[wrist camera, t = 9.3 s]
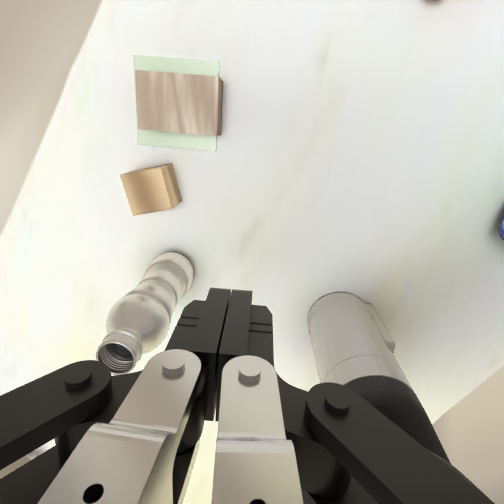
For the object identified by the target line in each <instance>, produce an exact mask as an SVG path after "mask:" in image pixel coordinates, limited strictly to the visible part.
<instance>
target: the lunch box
mask: <svg viewBox="0 0 504 504" xmlns="http://www.w3.org/2000/svg"><path fill="white" fill-rule="evenodd" d="M499 234H500V236H501V238H502V239H503V240H504V214H503V217H502V219H501V222H500V226H499Z"/></svg>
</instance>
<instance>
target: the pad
mask: <svg viewBox="0 0 504 504" xmlns="http://www.w3.org/2000/svg"><path fill="white" fill-rule="evenodd" d="M135 70H144V71H157V72H170V73H182V74H195V75H208V76H218V77H219V62H216V61H203V60H190V59H177V58H165V57H152V56H139V55H134V74H135ZM135 94H136V84H135ZM136 115H137V105H136ZM137 135H138V145H144V146H157V147H169V148H181V149H194V150H206V151H216V138H217V136H213V135H201V134H189V133H176V132H164V131H151V130H139V129H138V125H137Z"/></svg>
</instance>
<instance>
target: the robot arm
mask: <svg viewBox="0 0 504 504" xmlns="http://www.w3.org/2000/svg"><path fill="white" fill-rule="evenodd" d="M251 302H252V291H244V290H232V293H231V289H220V288H210V290H209V293H208V296H207V299H206V301H199V300H194V301H192V302H191V303H190V304H188V305H187V306H186V307H185V308H184V310H183V312H182V314H181V317H180V319H179V321H178V323H177V326H176V327H175V329H174V332H173V334H172V336H171V338H170V340H169V343H168V345H167V347H166V349H165V351H163V352H161V353H159V354H157V355H155V356H154V357H152V358H151V359H150V360H149V362H148V363H147V364H146V366H145V368H144V369H143V370H142V371H139V372H135V373H130V374H123V375H116V376H111V371H110V368H109V367H108V366H107V365H106V364H104V363H102V362H99V361H94V360H86V361H79V362H75V363H72V364H69V365H67V366H65V367H63V368H60V369H58V370H56V371H54V372H52V373H49V374H47V375H45V376H43V377H41V378H38V379H36V380H34V381H32V382H30V383H27V384H25V385H23V386H21V387H19V388H16V389H14V390H12V391H10V392H8V393H5V394H3V395H1V396H0V470H1V469H3V468H5V467H6V466H8V465H10V464H11V463H13V462H15V461H16V460H18V459H20V458H22V457H23V456H25V455H27V454H28V453H30V452H32V451H33V450H35V449H37V448H38V447H40V446H42V445H44V444H45V443H47V442H49V441H50V440H52V439H54V438H55V443H56V446H54V447H52V448H51V449H49V450H47V451H46V452H44V453H42V454H41V455H39V456H38V457H36V458H34V459H33V460H31V461H29V462H28V463H26V464H24V465H23V466H21V467H20V468H18V469H16V470H15V471H13V472H11V473H10V474H8V475H6V476H5V477H3V478H1V479H0V504H182V503H183V500H184V496H185V493H186V490H187V486H188V483H189V479H190V476H191V473H192V469H193V466H194V463H195V459H196V456H197V452H198V449H199V442H200V436H201V433H202V429H203V425H204V420H208V421H213V419H214V414H215V409H216V421H219V422H218V435H217V441H216V453H215V466H214V479H213V492H212V504H495V503H493V502H492V501H491V500H490V499H489V498H488V497H487V496H486V495H485V494H484V493H483V492H481V491H480V490H479V489H478V488H477V487H476V486H475V485H474V484H473V483H472V482H471V481H470V480H469V479H467V478H466V477H465V476H464V475H463V474H462V473H461V472H460V471H458V470H457V469H456V468H455V467H454V466H452V465H451V463H450V461H449V459H448V457H447V455H446V453H445V451H444V449H443V447H442V445H441V443H440V441H439V439H438V437H437V435H436V432H435V430H434V428H433V426H432V424H431V422H430V420H429V418H428V416H427V414H426V412H425V410H424V408H423V406H422V405H421V403H420V401H419V399H418V398H417V396H416V394H415V393H414V391H413V389H412V388H411V386H410V384H409V382H408V380H407V379H406V377H405V375H404V373H403V371H402V370H401V368H400V366H399V364H398V363H397V361H396V359H395V357H394V355H393V352H394V348H395V343H394V341H393V339H392V337H391V336H390V334H389V332H388V331H387V329H386V327H385V326H384V324H383V322H382V321H381V319H380V317H379V316H378V314H377V312H376V311H375V309H374V307H373V306H372V304H367V303H364V302H363V301H362V300H361V299H360V298H358V297H356V296H355V295H352V294H349V293H342V292H338V293H332V294H328V295H326V296H324V297H322V298H320V299H319V300H318V301H316V302H315V304H314V305H313V306H312V308H311V309H310V311H309V315H308V326H309V333H310V336H311V341H312V346H313V351H314V355H315V360H316V365H317V370H318V374H319V379H320V383H319V384H317V385H315V386H313V387H312V388H311V389H310V390H309V392H307V391H304V390H301V389H299V388H296V387H293V386H291V385H289V384H288V383H286V382H285V381H283V380H282V379H281V378H280V377H279V375H278V374H277V373H276V371H275V368H274V357H273V326H272V324H273V323H272V314H271V312H270V311H269V310H268V308H267V307H266V306H258V305H251Z"/></svg>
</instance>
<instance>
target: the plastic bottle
mask: <svg viewBox="0 0 504 504" xmlns="http://www.w3.org/2000/svg"><path fill="white" fill-rule="evenodd" d="M192 281H193V268H192V265H191V263H190V262H189V261H188V260H187V258H185V257H184V256H183V255H181V254H179V253H175V252H167V253H163V254H161V255H159V256H158V257H156V258H154V259H153V260H152V261H151V263H150V264H149V266H148V268H147V270H146V273H145V275H144V277H143V279H142V280H141V282H140V283H139V284H138V285H137V286H136V287H135V288H134V289H133V290H132V291H131V292H129V293H128V294H127V295H125V296H124V297H123V298H121V299H120V300H119V301H118V302H117V303H116V304H115V305H113V307H112V308H111V310H110V312H109V315H108V318H107V323H106V328H107V335H106V337H105V338H104V340H103V342H102V344H101V345H100V346H99V348H98V350H97V353H96V359H97V361H99V362H102V363H104V364H106V365H107V366H108V367H109V368H110V371H111V374H114V375H123V374H126V373H129V372H130V371H131V370H132V369H133V368H134V367H135V365H136V363H137V361H138V360H139V359H140V358H141V356H142V354H144V353H147V352H150V351H152V350H154V349H155V348H156V347H157V346H159V345H160V344H161V343H162V342H163V340H164V339H165V337H166V335H167V332H168V330H169V325H170V321H171V317H172V314H173V311H174V309H175V306H176V304H177V303H178V301H179V300H180V299H181V297H182V296H184V295H185V293H186V292H187V291H188V290H189V289H190V287H191V285H192Z"/></svg>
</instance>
